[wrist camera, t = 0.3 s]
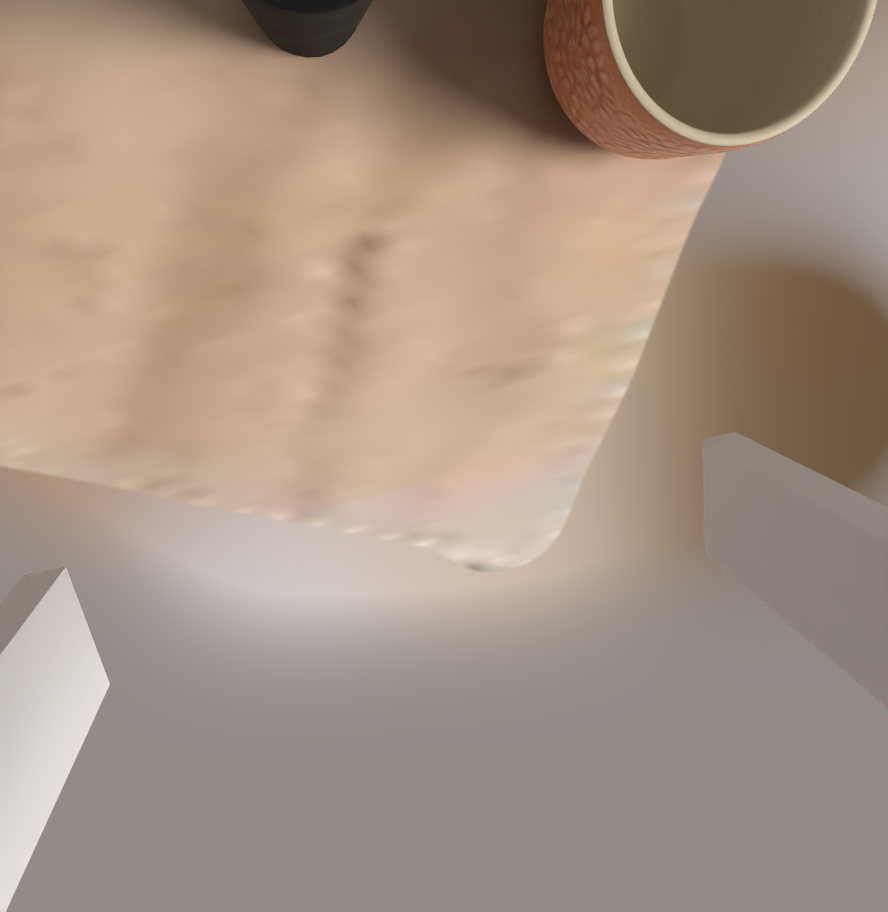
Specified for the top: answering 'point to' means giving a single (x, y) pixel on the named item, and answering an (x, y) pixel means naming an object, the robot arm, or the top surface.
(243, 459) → the top surface
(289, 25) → the cup
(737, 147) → the planter
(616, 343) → the top surface
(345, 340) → the top surface
